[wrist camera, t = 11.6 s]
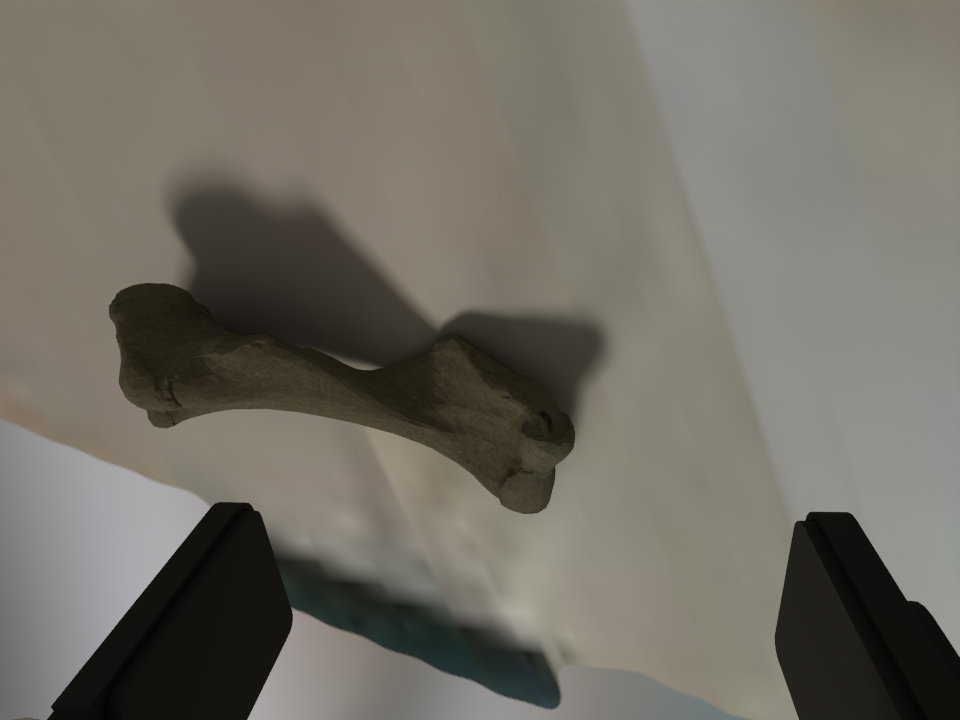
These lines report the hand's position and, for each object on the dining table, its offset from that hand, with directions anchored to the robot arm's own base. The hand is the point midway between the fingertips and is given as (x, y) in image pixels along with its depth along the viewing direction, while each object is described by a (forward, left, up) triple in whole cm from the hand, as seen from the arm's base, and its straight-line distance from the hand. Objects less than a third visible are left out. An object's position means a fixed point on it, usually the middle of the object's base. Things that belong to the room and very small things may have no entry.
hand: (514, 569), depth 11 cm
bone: (+14, +10, -29) cm, 33 cm away
